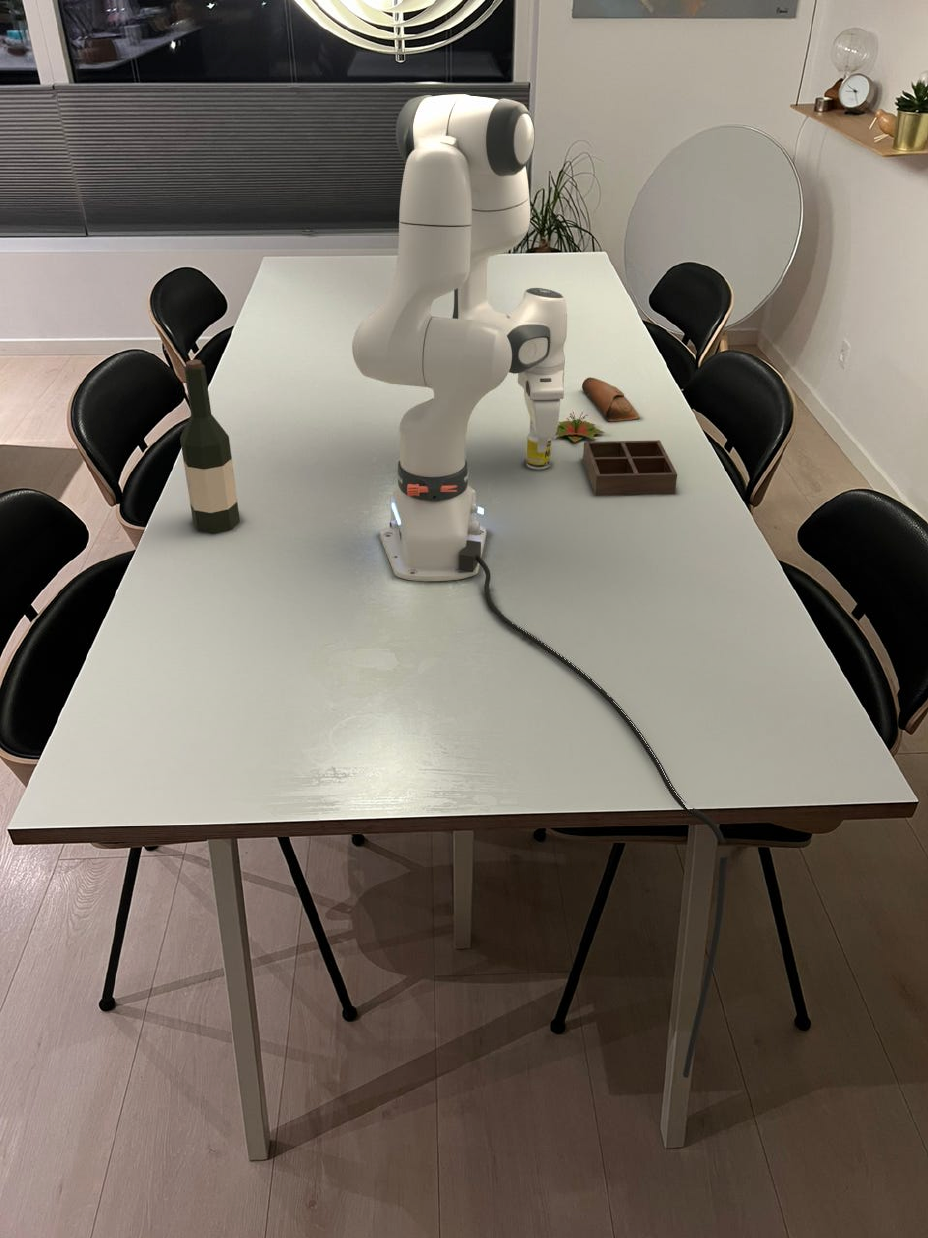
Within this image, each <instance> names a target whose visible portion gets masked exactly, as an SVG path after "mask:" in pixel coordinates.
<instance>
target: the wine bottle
mask: <svg viewBox="0 0 928 1238" xmlns="http://www.w3.org/2000/svg"><path fill="white" fill-rule="evenodd" d="M185 364H186V365H185V366H183V370H184V376H185V383H186V390H187V397H188V402H189V411H190V416H189V418H188V420H187V422H186V424H185V426H184V429H183V431H182V432H181V435H180V436H179V441H180V447H181V453H182V459H183V465H184V466H183V467H184V472H185V473H184V474H185V479H186V480H185V481H186V485H187V486H186V487H187V492H188V499H189V505H190V511H191V516H192V523H193V526H194V527H195V529H196V530H197V531H198V532H203V533H207V534H213V535H215V534H219V533H223V532H229V531H232V530H233V529H235V527H236V526H237V525H238V524H239V523H240V522H241V520H240V519H241V518H240V511H239V505H238V496H237V495H238V494H237V487H236V480H235V473H234V465H233V457H232V450H231V441H230V436H229V435H228V433H227V432H226V431H225V429H224V428H223V427H222V426H221V424H220V423H219V422H218V420H217V419H216V417H214V415H213V414H212V408H211V401H210V394H209V387H208V386H209V385H208V380H207V372H206V366H205V365H204V364H203V363H202V360H201V359H189V360H187V361H186V362H185Z"/></svg>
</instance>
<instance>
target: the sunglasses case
mask: <svg viewBox="0 0 928 1238" xmlns="http://www.w3.org/2000/svg"><path fill="white" fill-rule="evenodd" d="M581 389H582V391H583V392H584V393H585V394H586V395H587V396H588V397H589V398H590V400H591V401H592V402H593V403H594V405H595V406H596V407H597V409H598V410H599V411H600V412H601V414H602V415H603V416H604V418H606V419H607V421H608V422H610V423H613V422H627V421H628V422H629V421H633V420H634V421H635V420H638V419H640V415H639V413H638V412H637V410H636V409H635V407H634V406H633V405H632V403H631V402H630V401H629V400H628V398H627V397H626V396H625V393H623V392H622V390H620V389H619V388H618V387H617V386H615V385H612V384H610V383H608V382H605V381H603V380H601V379H598V378H595V377H587V378H586V379H585V378H584V380H583V382H582V384H581Z"/></svg>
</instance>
